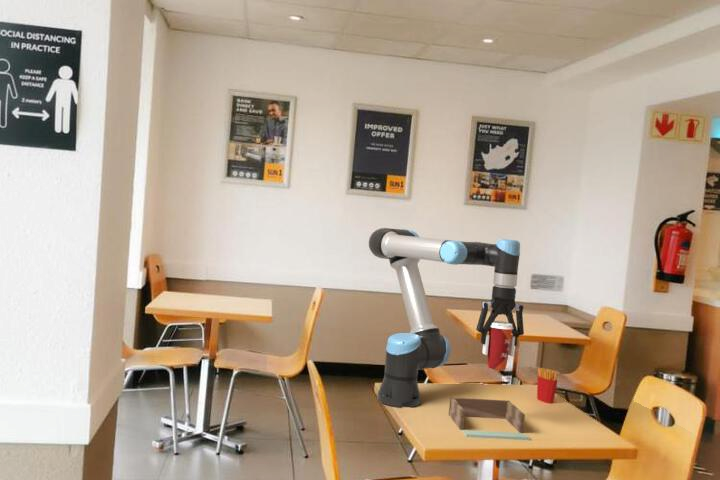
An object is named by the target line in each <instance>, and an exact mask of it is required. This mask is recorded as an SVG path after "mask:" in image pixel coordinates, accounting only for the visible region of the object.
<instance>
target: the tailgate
mask: <svg viewBox="0 0 720 480" xmlns="http://www.w3.org/2000/svg"><path fill="white" fill-rule="evenodd" d="M460 431H461V432H462V434H463V435H464V436H465V438H480V439H495V440H496V439H497V440H499V439H501V440H520V441H531V437H530V436H528V435H526V434H525V433H524V432H523V433H519V432H508V431H507V432H506V431H504V432H503V431H491V430H490V431H488V430H487V431H486V430H468V429H467V430H466V429H463V430H460Z"/></svg>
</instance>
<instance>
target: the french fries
mask: <svg viewBox="0 0 720 480" xmlns="http://www.w3.org/2000/svg"><path fill="white" fill-rule="evenodd" d="M537 373H538V375H537V389H536V391H537V392H536V399H537V400H538V401H540V402H543V403H547V404H554V401H555V395H556V390H557V385H558V379H557V375H558V374H557V373H556V371H554V370H550V369H549V368H546V369H545V368H544V367H540V368H539V367H537Z"/></svg>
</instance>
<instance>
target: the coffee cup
mask: <svg viewBox="0 0 720 480" xmlns="http://www.w3.org/2000/svg"><path fill="white" fill-rule="evenodd" d="M512 329H513V326H512V324H510V323H509V322H508V321H503V320H494V322H493V323H492V326H491V328H490V329H489V331H488V335H489V344H488V354H487V362H486V363H487V364H486V365H487V368H489V369H492V370H497V371H505V370H506V369H507V365H508V358H509V355H508V353H509V347H510V341H511V335H512Z"/></svg>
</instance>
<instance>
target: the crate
mask: <svg viewBox="0 0 720 480" xmlns="http://www.w3.org/2000/svg"><path fill="white" fill-rule="evenodd" d="M448 410H449V411H448V416H449V417H450V418H451V420H452V421H453V422H454V425H456V426H457V427H458V429H459V430H460V431H461V430H464V427H465V426H464V425H465V424H464V423H465V418H466V417H467V418H483V419H497V420H498V419H500V420H501V419H502V420H506V421H507V422H508V423H509V424H510V425H511V426H512V427H513V428H514V429H515V430H516V431H517V433H523V434H524V427H525V413H524V412H523V411H522V410H520V409H519V408H518V407H517V406H516V405H515V404H513V402H511V401H510V400H506V399H505V400H504V399H503V400H502V399H486V398H485V399H484V398H471V397H470V398H469V397H453V396H450V399H449V409H448Z"/></svg>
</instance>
